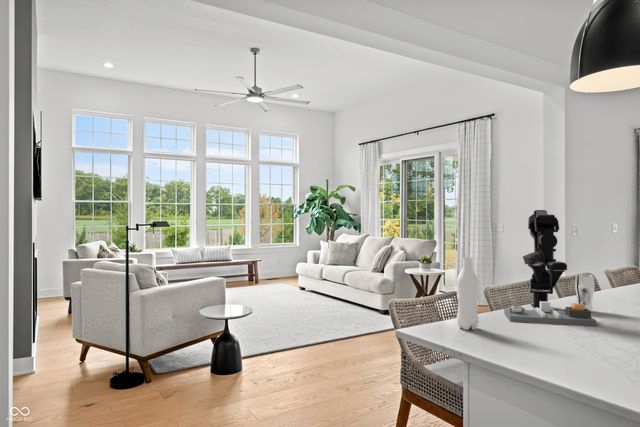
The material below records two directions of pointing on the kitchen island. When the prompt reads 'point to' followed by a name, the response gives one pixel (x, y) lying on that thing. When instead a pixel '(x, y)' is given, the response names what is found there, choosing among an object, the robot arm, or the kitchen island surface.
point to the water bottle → (467, 296)
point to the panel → (551, 316)
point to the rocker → (516, 307)
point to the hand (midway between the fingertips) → (545, 284)
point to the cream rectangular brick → (545, 306)
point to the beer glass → (585, 290)
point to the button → (578, 307)
